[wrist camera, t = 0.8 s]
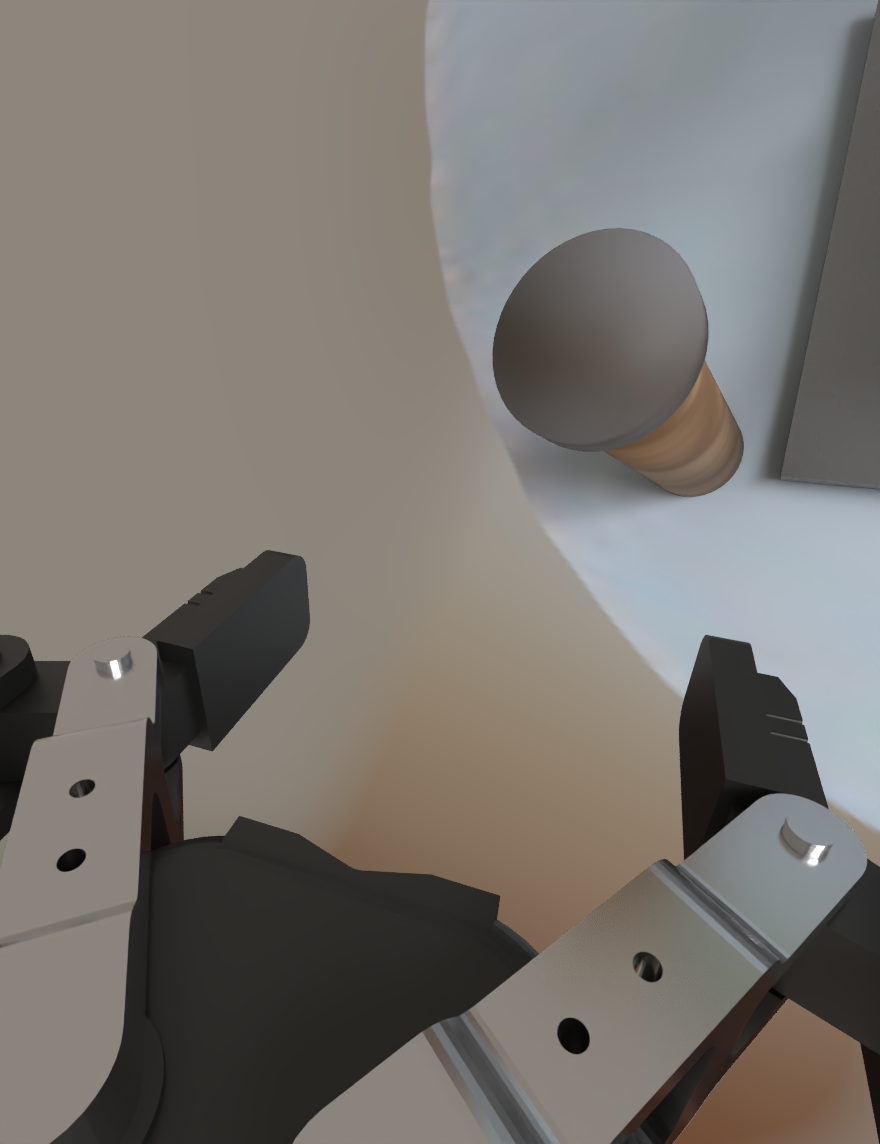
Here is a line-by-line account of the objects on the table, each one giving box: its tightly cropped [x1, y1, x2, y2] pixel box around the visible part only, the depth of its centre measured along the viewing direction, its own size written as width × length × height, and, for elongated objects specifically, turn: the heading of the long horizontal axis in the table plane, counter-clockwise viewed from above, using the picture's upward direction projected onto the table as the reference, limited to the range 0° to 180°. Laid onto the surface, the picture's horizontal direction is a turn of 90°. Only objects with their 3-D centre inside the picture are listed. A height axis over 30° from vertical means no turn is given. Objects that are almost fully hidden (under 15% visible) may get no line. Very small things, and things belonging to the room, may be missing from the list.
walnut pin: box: [493, 228, 744, 497], centre depth 23 cm, size 6×6×16 cm
